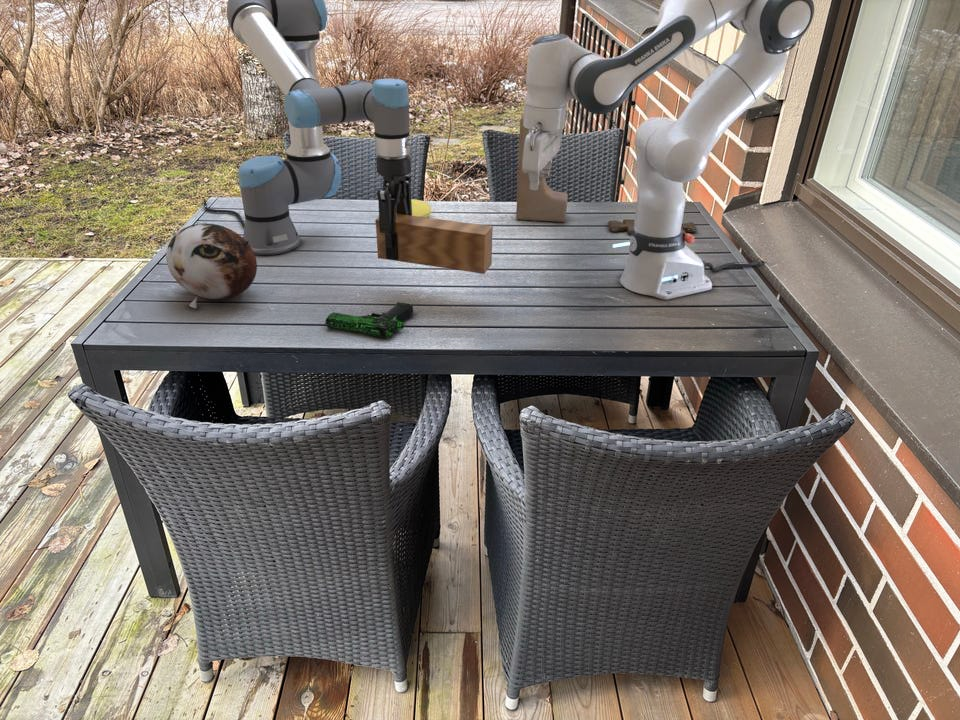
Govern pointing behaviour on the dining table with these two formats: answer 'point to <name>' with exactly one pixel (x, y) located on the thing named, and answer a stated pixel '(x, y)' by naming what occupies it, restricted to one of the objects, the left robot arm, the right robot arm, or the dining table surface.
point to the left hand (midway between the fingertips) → (397, 253)
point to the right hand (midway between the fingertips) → (539, 183)
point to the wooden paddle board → (628, 225)
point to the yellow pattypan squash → (420, 208)
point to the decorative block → (537, 193)
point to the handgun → (373, 321)
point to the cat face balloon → (211, 261)
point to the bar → (440, 243)
